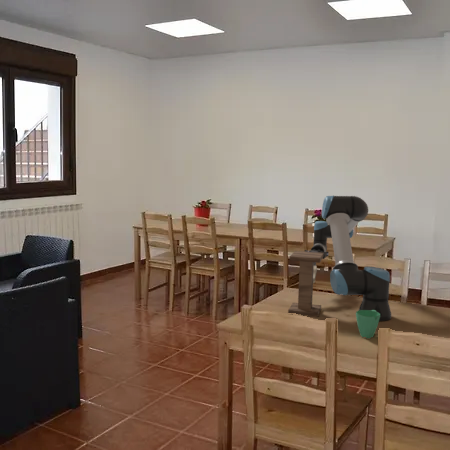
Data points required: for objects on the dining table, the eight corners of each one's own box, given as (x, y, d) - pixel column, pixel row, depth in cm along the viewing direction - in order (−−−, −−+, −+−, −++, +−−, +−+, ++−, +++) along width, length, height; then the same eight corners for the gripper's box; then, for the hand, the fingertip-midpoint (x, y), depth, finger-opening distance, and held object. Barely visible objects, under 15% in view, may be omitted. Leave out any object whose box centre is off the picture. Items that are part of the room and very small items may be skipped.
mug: (375, 341, 224) (376, 318, 223) (351, 337, 229) (352, 314, 228) (384, 332, 236) (386, 309, 235) (362, 328, 241) (363, 306, 240)
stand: (317, 317, 256) (320, 258, 253) (287, 314, 260) (289, 256, 257) (321, 308, 272) (323, 252, 268) (293, 306, 275) (295, 250, 272)
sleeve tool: (314, 283, 277) (314, 278, 276) (304, 282, 279) (304, 277, 277) (319, 255, 294) (319, 251, 292) (310, 254, 296) (310, 250, 294)
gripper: (332, 258, 307) (328, 266, 285) (303, 256, 312) (297, 264, 289) (332, 245, 306) (328, 252, 284) (303, 243, 311) (297, 250, 288)
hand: (312, 258), depth 287 cm, fingers closed on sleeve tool, 3 cm apart
